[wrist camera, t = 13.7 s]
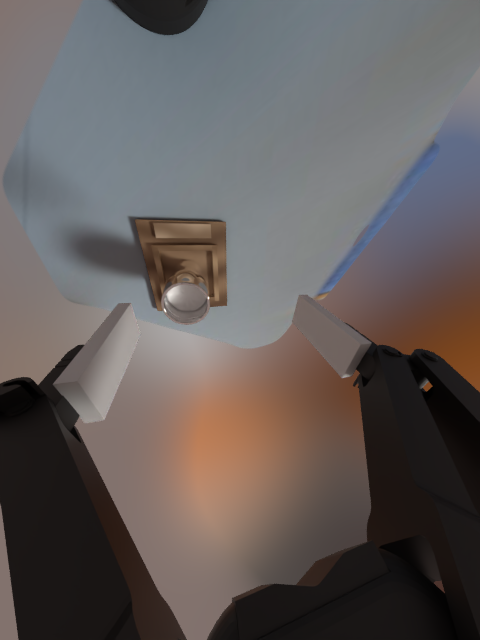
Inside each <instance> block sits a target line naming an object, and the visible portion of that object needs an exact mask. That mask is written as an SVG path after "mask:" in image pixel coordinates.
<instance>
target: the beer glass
mask: <svg viewBox="0 0 480 640" xmlns="http://www.w3.org/2000/svg"><path fill="white" fill-rule="evenodd" d="M161 306H162V309H163V312H164V313H165V315H166V316H167V317H168V318H169V319H171V320H172V321H174V322H176V323H179V324H185V325H189V324H194V323H197V322H199V321H201V320H202V319H203V318H204V317H205V316H206V315H207V313H208V311H209V308H210V295H209V289H208V286H207V283H206V281H205V280H204V278H203V271H202V269H201V267H200V266H199V265H198V264H197V263H195V262H193V261H190V260H184V261H181V262H179V263H178V264H177V265H176V266H175V268H174V271H173V274H172V275H171V276H170V277H169V278H168V280H167V282H166V284H165V286H164V290H163V295H162V299H161Z"/></svg>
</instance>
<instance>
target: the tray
mask: <svg viewBox="0 0 480 640" xmlns="http://www.w3.org/2000/svg"><path fill="white" fill-rule="evenodd" d="M135 223H136V227H137V231H138V235H139V239H140V243H141V246H142V250H143V254H144V258H145V262H146V266H147V270H148V274H149V278H150V282H151V286H152V290H153V294H154V298H155V302H156V306H157V310H158V311H163V309H162V306H161V299H162V295H163V290H164V286H165V284H166V282H167V280H168V278H169V277H170V276H171V275H172V274H173V271H174V268H175V266H176V265H177V264H178V263H179V262H181V261H184V260H190V261H193V262H195V263H197V264H198V265H199V266H200V267H201V269H202V271H203V278H204V280H205V281H206V283H207V286H208V289H209V295H210V307H215V306H227V279H226V222H210V221H174V220H137V219H136V220H135Z"/></svg>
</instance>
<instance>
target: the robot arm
mask: <svg viewBox="0 0 480 640" xmlns="http://www.w3.org/2000/svg"><path fill="white" fill-rule="evenodd" d="M114 1H115V2H116V3H117V4H118V5H119V6H120V8H121V9H122V10H123V11H124V12H125V13H126V14H127V15H128V16H130V17H131V18H132V19H133V20H134V21H136V22H137V23H138V24H140V25H141V26H143V27H144V28H146V29H148V30H150V31H153V32H155V33H158V34H163V35H174V34H179V33H181V32H184V31H186V30H187V29H188V28H190V27H191V26H192V25H193V24H194V23H195V22H196V21H197V20H198V18H199V17H200V15H201V14H202V12H203V10H204V8H205V6H206V4H207V1H208V0H114ZM292 322H293V323H294V324H295V326H296V327H297V328H298V329H299V330H300V331H301V332H302V334H303V335H304V336H305V337H306V338H307V339H308V340H309V341H310V342H311V344H312V345H313V346H314V347H315V348H316V349H317V350H318V352H319V353H320V354H321V355H322V356H323V357H324V358H325V359H326V361H327V362H328V363H329V364H330V365H331V366H332V367H333V368H334V369H335V371H336V372H337V373H338V374H339V375H340V376H341V377H342V378H345V377H350V376H352V375H353V374H354V372H355V370H357V371H359V373H360V374H359V376H358V377H357V379H356V380H355V382H354V384H353V386H355V385H356V384H359V386H358V388H359V393H360V403H361V412H362V421H363V431H364V441H365V450H366V459H367V469H368V478H369V488H370V497H371V513H370V516H369V519H368V523H367V542H365V543H362V544H359V545H356V546H353V547H350V548H347V549H344V550H341V551H338V552H336V553H334V554H331V555H329V556H327V557H325V558H322V559H320V560H318V561H316V562H315V563H314V564H313V565H312V567H311V568H310V569H309V570H308V571H307V572H306V574H305V575H304V576H303V577H302V578H301V579H300V581H299V582H298V583H297V584H296V585H284V584H269V585H261V586H259V587H256V588H254V589H252V590H250V591H248V592H245V593H243V594H241V595H238V596H236V597H234V598H232V603H231V604H230V605H229V606H228V607H227V608H226V610H225V611H224V612H223V613H222V615H221V616H220V618H219V619H218V620H217V622H216V624H215V625H214V627H213V629H212V631H211V632H210V634H209V636H208V639H207V640H480V392H479V391H478V390H476V389H475V388H474V387H473V386H472V385H471V384H470V383H469V382H468V381H467V380H465V379H464V378H463V377H462V376H461V375H460V374H459V373H458V372H457V371H456V370H454V369H453V368H452V367H451V366H450V365H449V364H448V363H447V362H446V361H445V360H444V359H442V358H441V357H440V356H438V355H436V354H435V353H433V352H430V351H428V350H423V349H416V350H414V352H413V353H412V354H411V355H404V354H402V353H401V352H400V351H398V350H396V349H395V348H392V347H390V346H386V345H378V346H377V345H376V344H375V343H373V342H372V341H371V340H369V339H368V338H367V337H365V336H364V335H363V334H361V333H359V332H358V331H357V330H355V329H354V328H353V327H351V326H350V325H349V324H347V323H345V322H343V321H342V320H340V319H339V318H337V317H336V316H335V315H333V314H332V313H331V312H329V311H328V310H327V309H325V308H324V307H323V306H321V305H320V304H318V303H317V302H316V301H315V300H313V299H312V298H311V297H309V296H308V295H299V297H298V301H297V305H296V309H295V312H294V316H293V320H292ZM140 336H141V334H140V330H139V327H138V324H137V321H136V318H135V315H134V311H133V308H132V305H131V303H121V304H118V305H117V306H116V307H115V308H114V310H113V311H112V312H111V314H110V315H109V316H108V317H107V318H106V320H105V321H104V322H103V323H102V324H101V326H100V327H99V328H98V330H97V331H96V332H95V333H94V334H93V335H92V337H91V338H90V339H89V340H88V342H87V343H86V344H85V345H78V346H76V347H75V348H73V349H72V350H70V351H69V352H68V353H67V354H66V355H65V356H64V357H63V358H62V359H61V361H60V362H59V363H58V364H57V365H56V366H55V368H53V369H52V371H51V372H50V373H49V374H48V375H47V376H46V377H45V378H44V380H43V381H42V382H41V383H40V384H39V385H37V384H36V383H35V382H34V381H33V380H32V379H31V378H27V377H21V378H16V379H12V380H9V381H6V382H3V383H1V384H0V503H1V508H2V515H3V523H4V531H5V539H6V546H7V554H8V562H9V569H10V577H11V585H12V592H13V600H14V607H15V616H16V623H17V630H18V638H19V640H187V639H186V637H185V635H184V634H183V631H182V629H181V628H180V625H179V624H178V622H177V620H176V618H175V616H174V614H173V612H172V610H171V609H170V607H169V606H168V604H167V603H166V601H165V600H164V599H163V597H162V596H161V595H160V593H159V591H158V590H157V588H156V586H155V584H154V582H153V580H152V578H151V576H150V574H149V572H148V570H147V568H146V566H145V564H144V562H143V560H142V558H141V556H140V554H139V552H138V550H137V548H136V546H135V544H134V542H133V540H132V538H131V536H130V534H129V532H128V530H127V528H126V526H125V524H124V522H123V520H122V518H121V516H120V514H119V512H118V510H117V508H116V506H115V504H114V502H113V500H112V498H111V496H110V494H109V492H108V490H107V488H106V486H105V484H104V482H103V480H102V478H101V476H100V474H99V472H98V470H97V468H96V466H95V464H94V462H93V460H92V458H91V456H90V454H89V452H88V450H87V448H86V446H85V444H84V442H83V440H82V438H81V436H80V434H79V432H78V430H77V428H76V427H75V426H74V425H75V423H76V421H77V420H78V418H79V417H80V418H81V419H82V420H83V422H84V423H90V422H96V421H101V420H104V419H105V417H106V415H107V412H108V410H109V408H110V405H111V403H112V401H113V398H114V396H115V394H116V391H117V389H118V387H119V384H120V382H121V380H122V378H123V375H124V373H125V371H126V368H127V366H128V364H129V361H130V359H131V356H132V354H133V352H134V350H135V347H136V344H137V343H138V340H139V338H140ZM428 382H430V383H431V384H432V386H433V387H432V388H430V389H429V390H428V391H427V392H426V391H425V390H424V389H423V387H424V386H425V385H426V384H427V383H428ZM440 580H442V584H443V587H444V591H445V593H444V592H442V591H441V590H440V589H439V588H438V587H437V586H436V585H435V584H434V582H435V581H440Z"/></svg>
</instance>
